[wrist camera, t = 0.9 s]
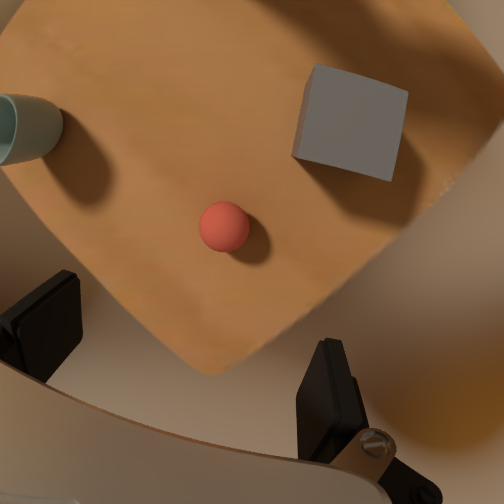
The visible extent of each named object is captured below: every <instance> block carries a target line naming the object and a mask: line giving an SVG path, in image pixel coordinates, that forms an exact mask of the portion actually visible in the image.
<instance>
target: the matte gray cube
mask: <svg viewBox="0 0 504 504" xmlns="http://www.w3.org/2000/svg"><path fill="white" fill-rule="evenodd" d="M408 93H409V92H408V91H405V90H403V89H400V88H397V87H395V86H392V85H389V84H386V83H383V82H380V81H377V80H374V79H371V78H368V77H364V76H361V75H358V74H354V73H351V72H347V71H344V70H340V69H336V68H333V67H329V66H325V65H321V64H315V66H314V68H313V70H312V72H311V74H310V76H309V79H308V81H307V83H306V85H305V90H304V95H303V100H302V105H301V110H300V115H299V120H298V125H297V130H296V135H295V140H294V145H293V150H292V155H291V156H294V157H296V158H299V159H304V160H308V161H313V162H317V163H321V164H325V165H329V166H334V167H338V168H341V169H345V170H349V171H353V172H357V173H360V174H364V175H368V176H371V177H375V178H378V179H382V180H385V181H389V182H391V181H392V176H393V172H394V168H395V163H396V159H397V154H398V149H399V144H400V139H401V134H402V129H403V123H404V118H405V112H406V106H407V100H408Z"/></svg>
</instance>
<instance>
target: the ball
mask: <svg viewBox="0 0 504 504" xmlns="http://www.w3.org/2000/svg"><path fill="white" fill-rule="evenodd" d="M249 229H250V225H249V220H248V217H247V215H246V213H245V212H244V211H243V210H242V209H241V208H240V207H239V206H237V205H236V204H233V203H230V202H219V203H216V204H213V205H212V206H210V207H209V208H207V209H206V211H205V212H204V213H203V215H202V217H201V219H200V223H199V231H200V235H201V238H202V240H203V241H204V243H205V244H206V245H207V246H208V247H210V248H211V249H213V250H215V251H218V252H230V251H234V250H236V249H238V248H239V247H240V246H241V245H243V243H244V242H245V241H246V239H247V237H248V234H249Z"/></svg>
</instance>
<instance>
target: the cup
mask: <svg viewBox="0 0 504 504" xmlns="http://www.w3.org/2000/svg"><path fill="white" fill-rule="evenodd" d="M62 131H63V116H62V114H61V112H60V110H59V109H58V107H57V106H56V105H54V104H53V103H52V102H50V101H48V100H46V99H43V98H39V97H34V96H28V95H19V94H0V166H6V165H11V164H17V163H22V162H27V161H31V160H34V159H38V158H40V157H42V156H44V155H46V154H48V153H49V152H50V151H51V150H52V149H53V148H54V147H55V146H56V145H57V143H58V141H59V139H60V137H61V134H62Z"/></svg>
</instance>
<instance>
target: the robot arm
mask: <svg viewBox="0 0 504 504" xmlns="http://www.w3.org/2000/svg"><path fill="white" fill-rule="evenodd" d="M82 337H83V329H82V315H81V295H80V280H79V279H78V278H77V275H76V274H75V273H73V272H70V271H67V270H61V271H60V272H59V273H57V274H56V275H54V276H53V277H51V278H50V279H49V280H47V281H46V282H45V283H43V284H42V285H40V286H39V287H37V288H36V289H35V290H33V291H32V292H31V293H29V294H28V295H27V296H25V297H24V298H22V299H21V300H20V301H18V302H17V303H16V304H15V305H13V306H12V307H11V308H9V309H8V310H7V311H6V312H4V313H3V314H2V315H0V504H442V502H443V499H442V498H443V497H442V493H441V491H440V489H439V488H438V487H437V486H436V485H435V484H434V483H433V482H431V481H430V480H428V479H427V478H425V477H424V476H422V475H420V474H419V473H417V472H416V471H415V470H413V469H411V468H410V467H409V466H407V465H406V464H404V463H403V462H401V461H400V460H398V459H397V458H396V457H394V456H395V454H396V451H397V450H396V449H397V447H396V443H395V441H394V439H393V438H392V437H391V436H390V435H389V434H388V433H386V432H385V431H382V430H381V429H377V428H369V424H368V420H367V416H366V412H365V408H364V405H363V401H362V397H361V394H360V390H359V387H358V383H357V380H356V378H355V377H352V376H351V373H350V369H349V366H348V362H347V358H346V355H345V351H344V348H343V344H342V341H341V340H337V339H332V338H325V340H324V341H321V340H320V341H319V343H318V345H317V347H316V350H315V352H314V355H313V358H312V360H311V362H310V364H309V367H308V369H307V371H306V373H305V376H304V378H303V381H302V383H301V385H300V387H299V389H298V392H297V395H296V417H297V444H298V459H294V458H287V457H280V456H273V455H267V454H262V453H256V452H251V451H246V450H240V449H235V448H230V447H225V446H221V445H216V444H211V443H208V442H203V441H199V440H195V439H192V438H188V437H184V436H181V435H177V434H174V433H170V432H166V431H163V430H160V429H156V428H153V427H150V426H147V425H144V424H141V423H138V422H135V421H133V420H129V419H127V418H124V417H121V416H119V415H116V414H113V413H111V412H108V411H106V410H103V409H101V408H98V407H96V406H93V405H91V404H88V403H86V402H84V401H81V400H79V399H77V398H74V397H72V396H70V395H68V394H65V393H63V392H61V391H59V390H57V389H55V388H53V387H51V386H49V385H47V384H45V383H46V382H47V380H48V379H49V378H50V377H51V376H52V374H53V373H54V372H55V371H56V370H57V369H58V367H59V366H60V365H61V364H62V363H63V361H64V360H65V359H66V358H67V357H68V355H69V354H70V353H71V352H72V351H73V350H74V349H75V347H76V346H77V345H78V344H79V343H80V342H81V340H82Z"/></svg>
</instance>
